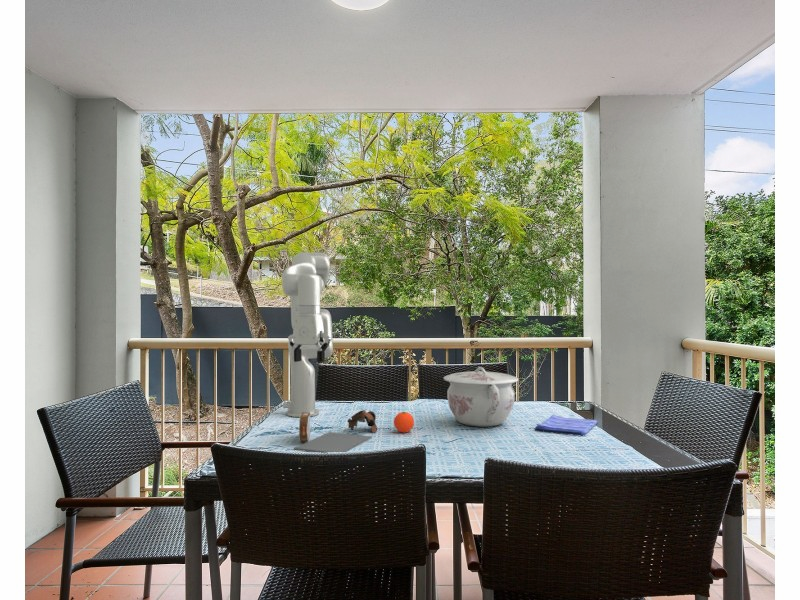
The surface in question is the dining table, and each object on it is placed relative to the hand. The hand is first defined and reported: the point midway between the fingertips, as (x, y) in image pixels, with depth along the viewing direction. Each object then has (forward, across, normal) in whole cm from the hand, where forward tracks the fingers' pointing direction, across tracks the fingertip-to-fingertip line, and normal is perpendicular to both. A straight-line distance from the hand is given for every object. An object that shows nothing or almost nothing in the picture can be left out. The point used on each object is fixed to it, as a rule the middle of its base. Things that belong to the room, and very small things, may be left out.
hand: (309, 362), depth 195 cm
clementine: (+25, +25, +21) cm, 41 cm away
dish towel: (+26, +72, +56) cm, 94 cm away
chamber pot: (+25, +43, +46) cm, 68 cm away
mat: (+25, +13, -4) cm, 28 cm away
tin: (+25, +2, -5) cm, 25 cm away
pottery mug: (+25, +12, +16) cm, 32 cm away
